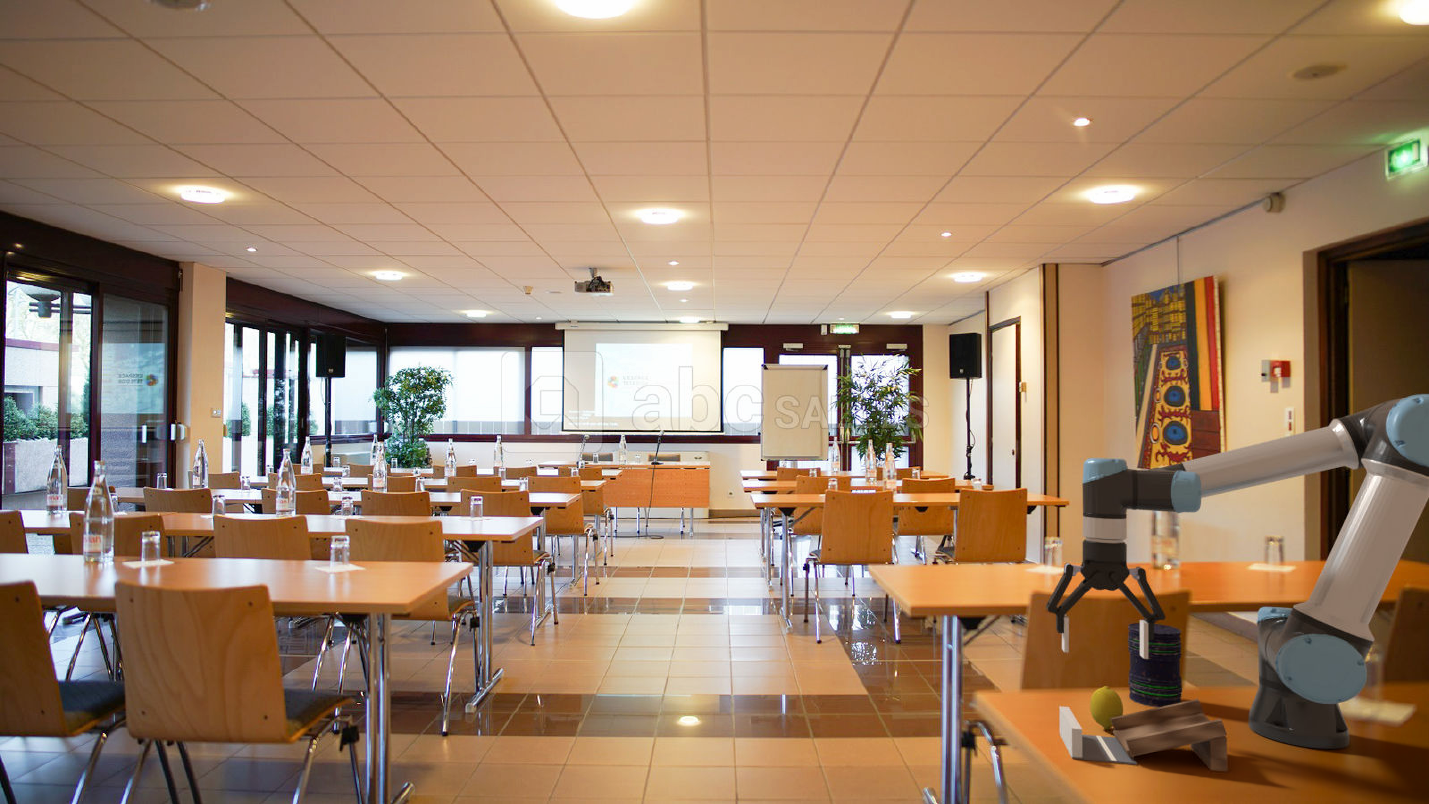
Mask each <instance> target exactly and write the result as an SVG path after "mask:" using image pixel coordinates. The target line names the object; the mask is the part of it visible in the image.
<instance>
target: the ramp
mask: <svg viewBox="0 0 1429 804" xmlns="http://www.w3.org/2000/svg"><path fill="white" fill-rule="evenodd" d="M1110 719H1111V722H1112V725H1113V727H1112V728H1113V730H1112V733H1113V737H1115V738H1116V739H1117V741H1118V742H1119V743H1120V745H1121V746H1122V748H1123V749H1124V751H1125V752H1126V754H1127V755H1128V756H1129V757H1135V756H1141V755H1146V754H1149V753H1154V752H1161V751H1165V750H1170V749H1174V748H1178V747H1179V748H1180V747H1185V746H1188V745H1190V749H1191V750H1192V751H1193V752H1194V753H1195V754H1196V756H1197V757H1199V758H1200V760H1201V761H1202V762H1203V763H1204V764H1205V765H1206V766H1207V768H1208V769H1209V770H1211V771H1219V772H1228V738H1227V737H1226V736H1228V734H1227V731H1226V728H1225V725H1224V723H1223V720H1222V719H1221V718H1217V719H1212V720H1210V719H1209V718H1208V717H1207V716H1206V715H1205V713H1204V710H1203V707H1202V705H1201V702H1200V699H1198V698H1196V699H1191V700H1187V701H1182V702H1181V703H1177V704H1172V705H1168V706H1163V707H1153V708H1150V709H1145V710H1141V711H1135V712H1132V713H1128V714H1123V715H1122V716H1118V717H1113V718H1110Z"/></svg>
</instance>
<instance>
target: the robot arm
mask: <svg viewBox="0 0 1429 804" xmlns="http://www.w3.org/2000/svg"><path fill="white" fill-rule="evenodd" d="M1341 467H1347V468H1349V469H1351V470H1358V469H1362V468H1364V469H1365V470H1366V475H1365V477H1364V479H1363V482H1362V483H1361V486H1360V489H1359V491H1358V492H1357V495H1356V497H1355V499H1354V500H1353V503H1352V505H1351V508H1350V510H1349V512H1348V514H1347V516H1346V519H1345V520H1344V523H1343V525H1342V527H1341V528H1340V531H1339V532H1338V533H1339V534H1338V536H1337V538H1336V539H1335V542H1334V544H1333V547H1332V548H1331V551H1330V552H1329V555H1328V557H1327V559H1326V561H1325V563H1324V566H1323V568H1322V569H1321V572H1320V575H1319V577H1318V579H1317V581H1316V583H1315V585H1314V587H1313V589H1312V591H1311V594H1310V596H1309V598H1308V599H1307V600H1305V601H1303V602H1300V603H1297V604H1294V605H1293V607H1292V608H1290V607H1278V606H1276V607H1275V606H1262V607H1260V608H1259V610H1258V611H1257V619H1256V626H1257V648H1258V649H1257V651H1258V653H1257V655H1258V657H1257V658H1258V688H1257V690H1256V693H1255V696H1254V699H1253V700H1252V701H1253V702H1252V705H1251V707H1250V709H1249V712H1248V728H1250V730H1251V731H1253V732H1255V733H1256V734H1258V735H1260V736H1262V737H1265V738H1267V739H1271V740H1274V741H1276V742H1281V743H1283V744H1289V745H1293V746H1298V747H1303V748H1311V749H1312V748H1313V749H1326V750H1329V749H1330V750H1332V749H1333V750H1334V749H1335V750H1336V749H1343V748H1347V747H1348V746H1350V731H1349V727H1348V725H1347V722H1346V720H1345V717H1344V714H1343V713H1342V709H1341V708H1340V705H1339V704H1341V703H1345V702H1348V701H1350V700H1352V699H1353V698H1355V697H1356V696H1357V695H1359V693H1360V692H1361V691H1362V690H1363V689H1364V687H1365V686H1366V682H1367V676H1368V669H1367V665H1366V659H1367V656H1368V654H1369V653H1370V650H1371V648H1372V646H1373V643H1374V642H1375V640H1376V639H1375V637H1374V636H1373V633H1372V631H1371V630H1370V627H1369V624H1370V622H1371V620H1372V619H1373V616H1374V614H1375V613H1376V612H1375V611H1376V610H1377V607H1378V605H1379V604H1380V601H1381V600H1382V597H1383V594H1384V593H1385V591H1386V589H1387V586H1388V584H1389V582H1390V580H1391V578H1392V575H1393V573H1394V572H1395V569H1396V567H1397V566H1398V563H1399V561H1400V560H1401V557H1402V555H1403V554H1404V551H1405V548H1407V547H1406V546H1407V544H1408V542H1409V540H1410V538H1411V536H1412V534H1413V532H1414V530H1415V528H1416V525H1417V523H1418V520H1419V519H1420V517H1421V515H1422V513H1423V511H1424V508H1425V507H1426V504H1427V502H1428V501H1429V393H1421V394H1419V393H1418V394H1413V395H1410V396H1407V397H1402V398H1395V399H1391V400H1387V401H1385V402H1382V403H1380V404H1377V405H1374V406H1372V407H1369V408H1366V409H1364V410H1362V411H1358V412H1355V413H1353V414H1349V415H1345V416H1343V417H1338V418H1334V419H1332V420H1331V422H1330V423H1329V425H1328V426H1325V427H1321V428H1317V429H1312V430H1308V431H1303V432H1301V433H1297V434H1292V435H1288V436H1284V437H1280V438H1277V439H1276V438H1275V439H1272V440H1268V441H1264V442H1260V443H1256V444H1251V445H1248V446H1247V445H1246V446H1244V447H1239V448H1235V449H1231V450H1227V451H1223V452H1218V453H1216V454H1215V453H1214V454H1211V455H1207V456H1203V457H1199V458H1198V457H1197V458H1194V459H1190V460H1186V461H1182V462H1179V463H1174V464H1170V465H1166V466H1163V467H1154V468H1151V469H1150V468H1149V469H1141V470H1140V469H1132V468H1129V467H1128V465H1127V460H1126V459H1124V458H1106V457H1105V458H1103V457H1091V458H1087V459H1086V460H1085V461H1084V462H1083V471H1082V536H1083V537H1084V538H1085V539H1083V540H1082V560H1081V561H1082V562H1081V565H1075V564H1071V563H1070V562H1066V563H1065V564H1064V566H1063V574H1062V576H1061V578H1060V579H1059V581H1058V583H1057V584H1056V587H1055V588H1054V591H1053V592H1052V594H1051V595H1050V598H1049V599H1048V601H1047V602H1046V605H1045V609H1046V610H1047V612H1049V613H1051V614H1054V615H1055V629H1056V632H1057V633H1058V634H1061V650H1062V651H1063V653H1069V650H1070V649H1069V647H1070V646H1069V645H1070V644H1069V643H1070V642H1069V641H1070V640H1069V639H1070V637H1069V636H1070V628H1069V627H1070V626H1069V625H1070V618H1069V616H1068V615H1067V613H1068V612H1069V611H1070V610H1071V609H1072V608H1073V607H1074V606H1075V605H1076V604H1077V603H1078V602H1079V601H1080V599H1082V598H1083V596H1085V595H1086V593H1088V592H1089V591H1090V590H1091V589H1094V590H1095V591H1104V590H1105V591H1110V592H1115V591H1116V590H1119V591H1120V592H1121V593H1122V595H1123V596H1125V598H1126V599H1127V600H1128V601H1129V602H1130V603H1131V604H1132V605H1133V607H1134V608H1135V609H1136V610H1137V612H1139V614H1140V615H1141V617H1143V619H1140V620H1139V623H1140V656H1141V657H1142V658H1144V659H1148V640H1153V639H1154V624H1156V623H1157V621H1164V620H1165V619H1166V615H1165V612H1164V610H1163V609H1162V606H1161V605H1160V603H1159V601H1158V599H1157V596H1155V593H1154V592H1153V589H1152V588H1151V586H1150V584H1149V582H1148V579H1147V571H1146V570H1145V569H1144V568H1143V567H1141V566H1136V567H1134V568H1132V567H1131V568H1128V564H1127V563H1128V560H1127V559H1128V557H1127V555H1128V554H1127V552H1128V548H1127V547H1128V546H1127V544H1126V542H1125V540H1127V538H1128V537H1127V535H1128V533H1127V528H1128V527H1127V523H1128V522H1127V516H1128V514H1127V512H1128V510H1131V511H1136V510H1139V511H1152V512H1168V513H1177V514H1182V513H1183V514H1184V513H1197V512H1199V510H1200V509H1201V505H1202V499H1203V498H1208V497H1213V496H1217V495H1221V494H1225V493H1229V492H1234V491H1238V490H1243V489H1244V490H1245V489H1247V488H1252V487H1256V486H1261V485H1266V484H1271V483H1275V482H1278V481H1283V480H1287V479H1288V480H1289V479H1292V478H1297V477H1301V476H1306V475H1310V474H1315V473H1320V472H1324V471H1328V470H1332V469H1336V468H1341ZM1078 573H1080V574H1081V575H1082V576H1083V580H1081V581H1080V583H1079V584H1078V586H1077V587H1076V588H1074V590H1073V591H1072V592H1071V593H1070V594H1069V595H1068V596H1067V597H1066V598H1065V599H1064V600H1063V601H1062V603H1061V604H1059V603H1060V602H1061V600H1062V597H1063V596H1064V594H1065V593H1066V590H1067V588H1068V587H1069V586H1070V583H1071V581H1072V579H1073V577H1076V576H1077V574H1078ZM1129 576H1131V577H1132V579H1134V580H1136V582H1137V584H1138V586H1139V587H1140V590H1141V591H1142V593H1143V595H1144V597H1145V599H1146V601H1147V604H1148V605H1149V606H1150V609H1151V611H1152V612H1150V611H1149V610H1148V609H1147V607H1145V605H1144V604H1143V603H1142V602H1141V600H1139V598H1137V596H1136V595H1135V594H1134V593H1133V592H1132V591H1131V588H1129V586H1127V584H1126V583H1125V581H1126V580H1127V579H1128V577H1129Z"/></svg>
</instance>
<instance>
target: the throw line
mask: <svg viewBox="0 0 1429 804" xmlns="http://www.w3.org/2000/svg"><path fill="white" fill-rule="evenodd" d="M1095 736H1096V737H1097V739H1098V740H1099V742H1100V743H1101V745H1102V746H1103V748H1104V750H1105V751H1106V753H1107V754H1108V756H1109V757H1110V759H1111V761H1116V759H1115V757H1114V756H1113V754H1112V753H1111V751H1110V750H1109V748H1108V747H1107V745H1106V744H1105V742H1104V741H1103V739H1102V737H1101V736H1102V735H1095ZM1111 763H1113V762H1111ZM1115 764H1117V763H1116V762H1115Z"/></svg>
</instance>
